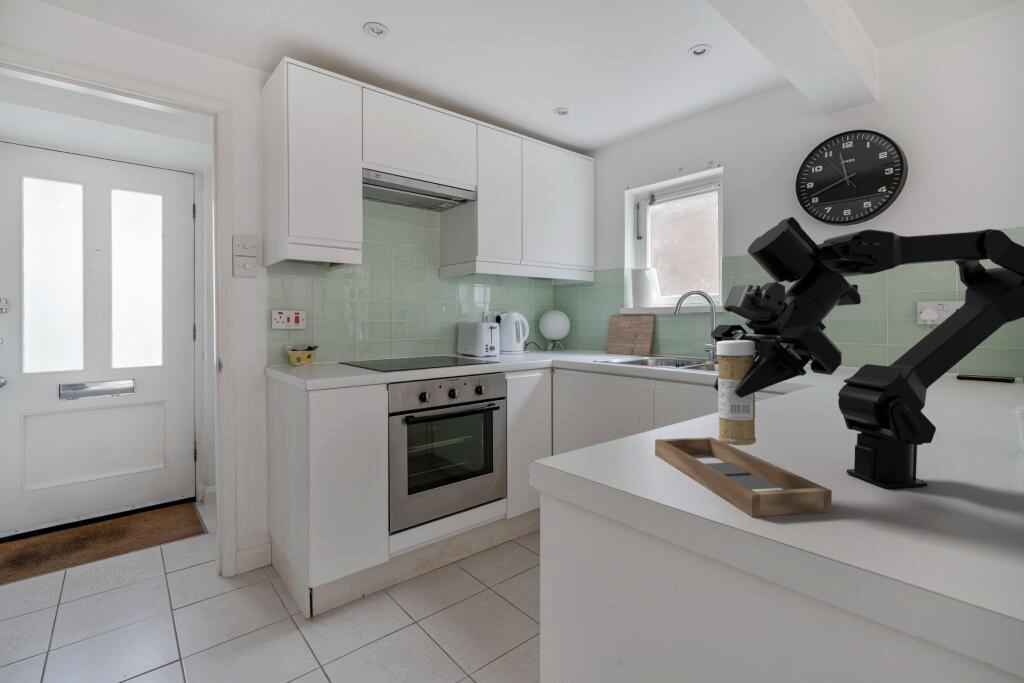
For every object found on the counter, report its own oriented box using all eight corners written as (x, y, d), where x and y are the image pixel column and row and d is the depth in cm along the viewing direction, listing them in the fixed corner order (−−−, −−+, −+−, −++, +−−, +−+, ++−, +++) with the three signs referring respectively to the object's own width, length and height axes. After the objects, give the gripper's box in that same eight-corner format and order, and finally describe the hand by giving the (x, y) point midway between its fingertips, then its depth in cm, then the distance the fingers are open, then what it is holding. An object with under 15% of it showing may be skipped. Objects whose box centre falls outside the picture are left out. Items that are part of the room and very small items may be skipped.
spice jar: (757, 440, 63) (756, 339, 63) (754, 447, 59) (753, 340, 59) (720, 437, 65) (719, 340, 65) (715, 444, 62) (713, 341, 61)
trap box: (711, 451, 79) (711, 437, 79) (831, 511, 55) (831, 490, 55) (655, 454, 78) (655, 439, 78) (751, 516, 53) (752, 495, 53)
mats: (729, 464, 72) (729, 462, 72) (779, 490, 61) (779, 487, 61) (682, 467, 71) (682, 464, 71) (725, 493, 60) (725, 490, 60)
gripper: (723, 271, 71) (654, 346, 70) (820, 254, 53) (728, 355, 52) (770, 322, 73) (703, 396, 72) (881, 323, 54) (793, 423, 53)
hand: (726, 392), depth 62 cm, fingers closed on spice jar, 4 cm apart
